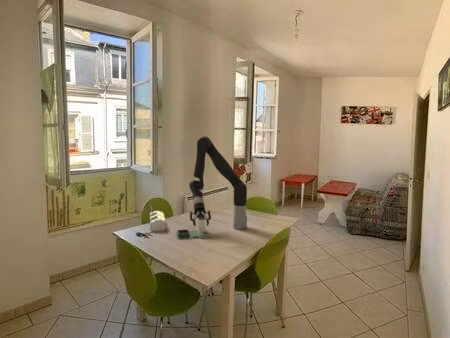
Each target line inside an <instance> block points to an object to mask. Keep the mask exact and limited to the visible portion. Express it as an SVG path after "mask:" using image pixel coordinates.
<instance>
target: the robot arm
mask: <svg viewBox="0 0 450 338" xmlns="http://www.w3.org/2000/svg"><path fill="white" fill-rule="evenodd" d="M206 154H207V156H209V158H210V160H211V162H212V164H213V167H215V169H216V170H217V171H218V173H219V174H220V175H221V176H222V177H223V178H224V179H226V180H227V181H228V182H229V183H230V184H231V185H230V186H232V188H233V218H232V219H233V221H232V228H233V229H234V230H239V231H240V230H245V229H247V227H248V225H247V224H248V215H247V203H248V202H247V199H248V197H247V196H248V194H247V193H248V187H247V185H246V184H245V182H243V180H242V179H241V178H240V177H239V176H238V175H237V173H236V172H235V171H234V169H233V167H232V166H231V164H229V162H228V161H227V160H226V158H225V157H224V156H223V154H221V153H220V152H219V151H218V149H217V148H216V147H215V145H214V144H213V142H212V140H211V139H210V138H209V137H208V136H205V135H204V136H202V137H199V138H198V139H197V141H196V158H195V159H196V160H195V165H194V171H193V177H194V178H196V179H199V180H196V179H195V180H194V179H192V180H190V181H189V185H188V186H189V190H190V192H191V194H192V198H193V199H192V206H193V211H194V212H193V211H189V220H190V221H191V222H192V225H193V227H196V225H197V223H196V220H197V219H198V217H204V218H205V224H206V226H209V225H210V220H211V219H212V215H211V211H210V210H208V211H206V207H205V200H204V196H203V195H204V193H203V192H202V191H203V190H204V186H205V185H204V184H205V183H204V173H205V164H206ZM193 215H194V217H193Z"/></svg>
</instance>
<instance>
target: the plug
mask: <svg viewBox="0 0 450 338" xmlns="http://www.w3.org/2000/svg"><path fill="white" fill-rule="evenodd" d="M197 230H198V234H199V235H200V233H203V232H205V230H206V219H205V218H204V217H198V218H197Z"/></svg>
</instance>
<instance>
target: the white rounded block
mask: <svg viewBox="0 0 450 338" xmlns="http://www.w3.org/2000/svg"><path fill="white" fill-rule="evenodd" d="M152 206H153V205H151V206H150V211H151V212H150V213H149V223H150V224H149V225H150V229H151V230H152V232H157V231H158V232H160V231H165V230H166V229H167V221H166V218H165V213H164V212H163V211H160V210H153V207H152Z"/></svg>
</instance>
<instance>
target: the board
mask: <svg viewBox="0 0 450 338" xmlns="http://www.w3.org/2000/svg"><path fill="white" fill-rule="evenodd" d="M174 233H175V237H176V239H177V241H181V240H195V239H212V236H211V234H210V232H209V231H208V229H205V232H203V233H200V235H199V234H198V229H196V230H195V229H193V230H189V229H177V230H176V231H175V232H174Z"/></svg>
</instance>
